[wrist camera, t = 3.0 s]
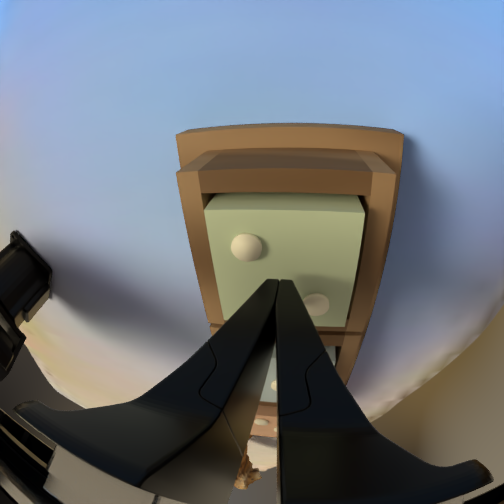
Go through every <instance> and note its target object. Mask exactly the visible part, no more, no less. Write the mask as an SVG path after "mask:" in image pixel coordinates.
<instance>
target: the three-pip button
mask: <svg viewBox="0 0 504 504" xmlns="http://www.w3.org/2000/svg"><path fill="white" fill-rule="evenodd" d="M250 434H251V435H258V436H267V437H277V407H274V406H263V405H259V406H258V409H257V413H256V416H255V419H254V423H253V426H252V429H251V433H250Z"/></svg>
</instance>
